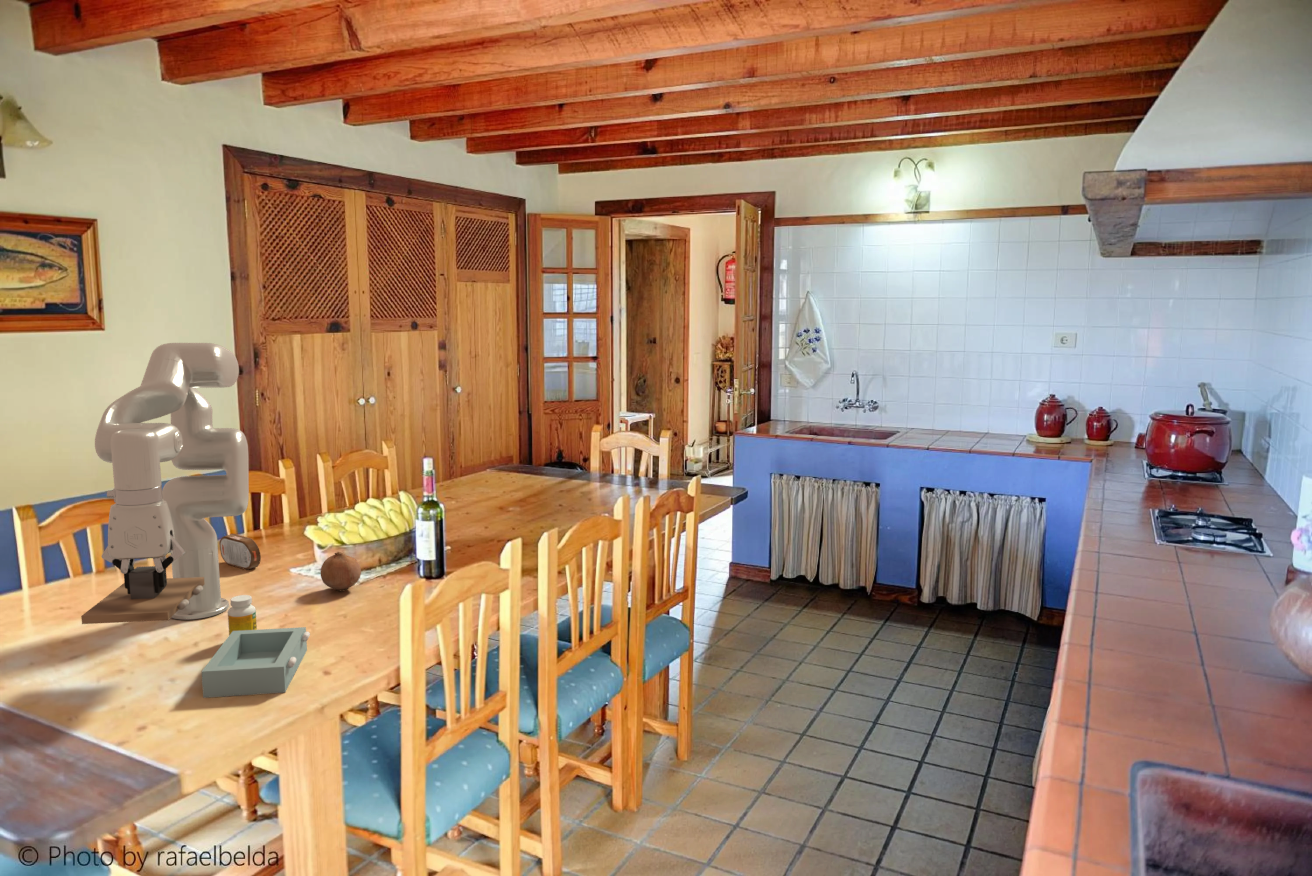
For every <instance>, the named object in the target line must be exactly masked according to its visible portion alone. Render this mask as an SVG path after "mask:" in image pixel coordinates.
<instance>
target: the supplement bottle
mask: <svg viewBox="0 0 1312 876" xmlns="http://www.w3.org/2000/svg"><path fill="white" fill-rule="evenodd" d="M252 602H253V599H252V596H251V595H249V594H241V595H237V596H236V595H235V596H232V598H230V606H231V607H230V608H228V609H227V623H228V636H229V635H230V634H231V633H232V631H242V630H258V628H257V627H258V626H257V609H256V607H255V606H254V605H253V604H252Z"/></svg>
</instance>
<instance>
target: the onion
mask: <svg viewBox="0 0 1312 876" xmlns="http://www.w3.org/2000/svg"><path fill="white" fill-rule="evenodd" d="M361 569H362V568H361V565H360V563H359V562H358V561H357V559H355V558H354V557H352V556H350V555H347V554H345V553H344V552H341V551H336V552H334V553H333V555H330V556H328V557H327V558H326V559H324V561H323V563H322V565H321V568H320V578H321V581H322V583H323V584H324V585H325V586H327V587H329V588H330V589H332V590H335V592H344V591H347V590H350V588H352V587H353V586H354V585H355V584H357V583H358V582H359V580H360V578H361V575H362V570H361Z"/></svg>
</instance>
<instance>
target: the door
mask: <svg viewBox="0 0 1312 876" xmlns="http://www.w3.org/2000/svg"><path fill="white" fill-rule="evenodd" d="M155 572H156V567H155V565H153V566H149V565H147V566H136V567H134V570H133V571H131V572H130V573H129V583H130V594H128V592H127V589H126V588H125V583H124V582H123V583H122V584H121V585H120V586H118V587H117V588H116V589H115V590H113V591H112V592H110V593H109V594H108V595H106V596H105V597H104V598H102V600H100V601H99V602H98V603H96V604H95V605H93V606H92V607H91V608H90V609H89V610H87V611H86V612H84V613H83V614H81V617H80V619H81V625H93V624H111V623H115V624H118V623H133V622H134V623H136V622H137V623H138V622H139V623H140V622H156V621H157V622H159V621H169V620H170V619H171V617H172V616H173V615H174V614H175V613H176V612H177V611H178V610H183V609H184V608H185V607H186V606H187V605H188V604H189V601H188V600H189V599H190V598H191V597H192V596H193V595H198V594H199V593H200V592H201V591H202V590H203V587H202V586H203V585H204V584H205V582H204V577H193V578H173V577H169V578H168V577H167V585H166V587H165V588H164V589H163V590H162V591H161V592H160V593H156V592H155V586H154V573H155Z"/></svg>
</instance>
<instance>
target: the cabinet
mask: <svg viewBox="0 0 1312 876" xmlns="http://www.w3.org/2000/svg"><path fill="white" fill-rule="evenodd" d="M310 636H311V633H310V631H307V627H306V626H304V627H303V626H302V627H284V628H283V627H281V628H266V629H265V628H264V629H257V630H242V631H232V633H231V634H230V635H229V634H228V636H227V638H226V639H225V641H224V642H223V643H222V645H220V647H219V648H218V650H216V652H215V653H214V655H213V656H212V658H211V659H210V660H209V661H208V662H207V664H206V665H205V666H204V668H202V670H201V685H202V696H203V697H202V698H203V699H204V698H218V697H219V698H221V697H235V696H236V697H237V696H249V695H250V696H251V695H265V694H266V695H267V694H281V693H286V691H287V690H288V688H289V686H290V685H291V682H292V680H293V678H294V677H295V674H296V673H297V671H298V669H299V667H300V665H301V663H302V661H303V659H304V657H305V655H306V653H307V651H308V645H307V644H308V640H309V638H310Z"/></svg>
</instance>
